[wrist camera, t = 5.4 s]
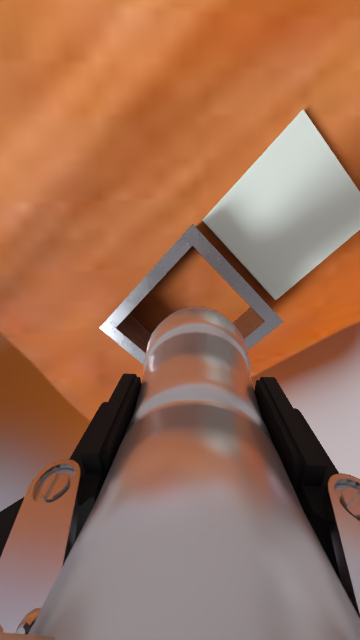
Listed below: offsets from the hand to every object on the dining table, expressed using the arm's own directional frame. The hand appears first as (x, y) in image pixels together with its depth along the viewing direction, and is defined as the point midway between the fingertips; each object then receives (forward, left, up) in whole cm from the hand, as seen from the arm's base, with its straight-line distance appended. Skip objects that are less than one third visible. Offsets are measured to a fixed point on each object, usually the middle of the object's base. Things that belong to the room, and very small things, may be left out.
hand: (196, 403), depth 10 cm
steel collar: (+1, 0, -16) cm, 16 cm away
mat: (-13, 0, -16) cm, 21 cm away
